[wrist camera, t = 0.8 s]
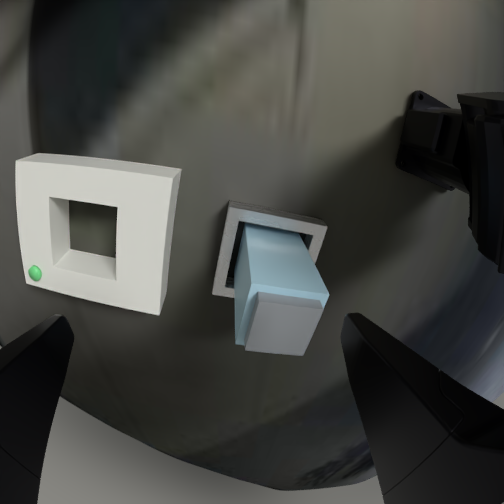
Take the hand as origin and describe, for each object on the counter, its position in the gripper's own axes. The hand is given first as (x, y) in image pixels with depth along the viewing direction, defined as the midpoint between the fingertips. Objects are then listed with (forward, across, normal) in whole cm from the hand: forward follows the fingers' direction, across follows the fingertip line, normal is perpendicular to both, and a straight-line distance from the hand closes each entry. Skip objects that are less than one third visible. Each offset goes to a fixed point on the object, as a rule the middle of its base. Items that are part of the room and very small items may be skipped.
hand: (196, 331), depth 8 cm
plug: (+13, -3, +4) cm, 14 cm away
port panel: (+13, +10, +1) cm, 16 cm away
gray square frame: (+13, -3, +4) cm, 14 cm away
